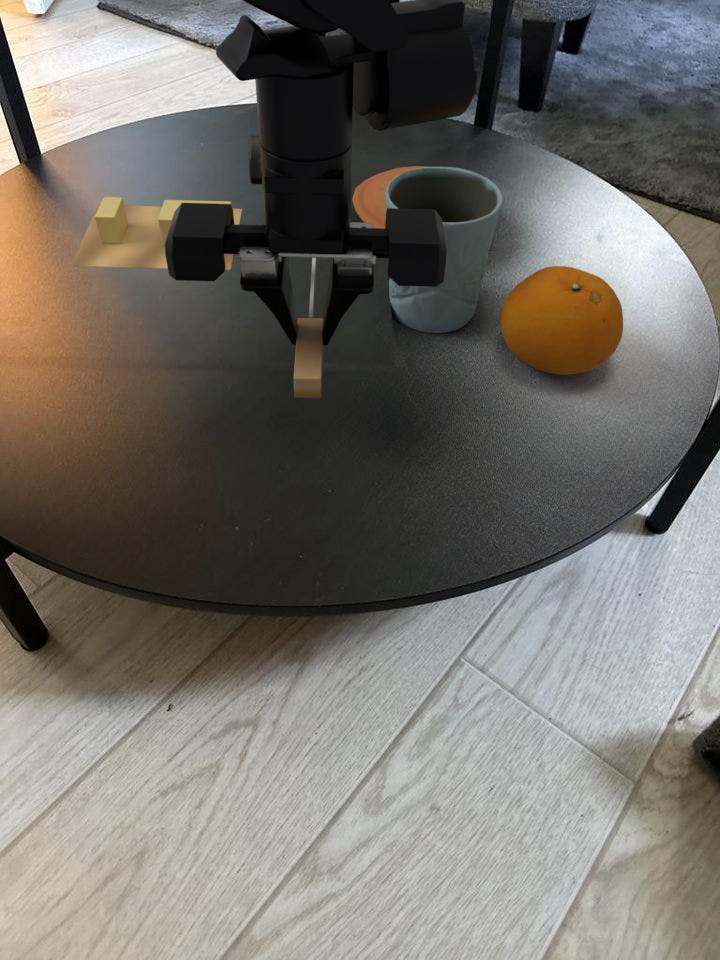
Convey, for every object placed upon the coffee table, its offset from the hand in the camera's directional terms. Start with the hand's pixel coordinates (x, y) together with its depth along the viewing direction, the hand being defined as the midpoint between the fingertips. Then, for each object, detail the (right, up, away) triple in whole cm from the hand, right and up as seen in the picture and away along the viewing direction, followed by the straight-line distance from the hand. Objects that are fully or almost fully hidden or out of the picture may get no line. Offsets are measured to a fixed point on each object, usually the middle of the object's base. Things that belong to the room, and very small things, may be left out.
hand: (310, 341), depth 57 cm
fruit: (+22, +1, +11) cm, 25 cm away
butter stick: (-13, +15, +21) cm, 29 cm away
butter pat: (-22, +15, +20) cm, 34 cm away
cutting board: (-17, +14, +21) cm, 31 cm away
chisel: (0, +2, +3) cm, 3 cm away
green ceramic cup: (+11, +6, +16) cm, 20 cm away
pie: (+11, +17, +25) cm, 32 cm away
